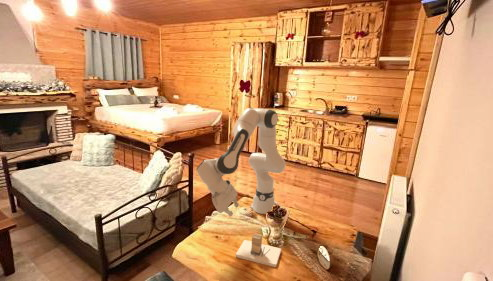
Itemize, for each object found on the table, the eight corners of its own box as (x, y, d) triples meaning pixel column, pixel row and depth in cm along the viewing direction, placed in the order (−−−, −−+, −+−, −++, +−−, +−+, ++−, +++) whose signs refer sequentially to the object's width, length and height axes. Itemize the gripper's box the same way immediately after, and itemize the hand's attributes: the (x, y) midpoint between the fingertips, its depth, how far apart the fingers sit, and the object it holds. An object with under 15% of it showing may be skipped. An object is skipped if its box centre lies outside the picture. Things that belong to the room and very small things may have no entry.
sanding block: (253, 248, 130) (254, 232, 128) (261, 250, 129) (262, 234, 127) (250, 253, 126) (251, 237, 124) (259, 255, 124) (260, 239, 123)
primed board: (244, 242, 137) (244, 239, 137) (281, 251, 131) (281, 248, 131) (235, 256, 125) (235, 254, 125) (275, 267, 119) (276, 264, 119)
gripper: (215, 194, 120) (232, 218, 120) (230, 178, 139) (245, 199, 139) (205, 200, 122) (222, 223, 122) (221, 184, 141) (236, 204, 141)
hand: (234, 210), depth 131 cm, fingers open, 8 cm apart
